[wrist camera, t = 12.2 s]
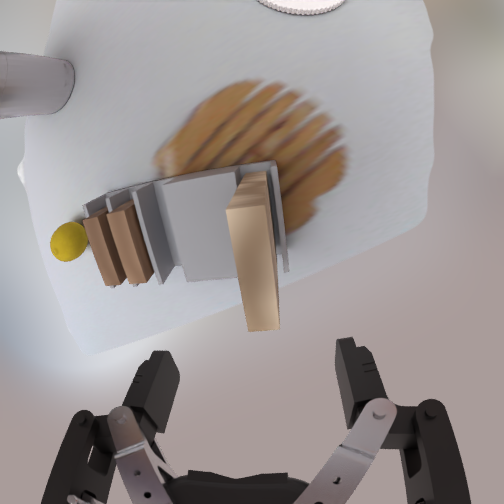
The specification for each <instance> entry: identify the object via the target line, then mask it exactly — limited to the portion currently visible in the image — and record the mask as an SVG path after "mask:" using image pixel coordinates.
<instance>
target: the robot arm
mask: <svg viewBox="0 0 504 504" xmlns="http://www.w3.org/2000/svg"><path fill="white" fill-rule="evenodd" d="M73 85H74V69H73V67H72V65H71V64H70V63H69V62H68V61H66V60H61V59H55V58H50V57H45V56H38V55H31V54H23V53H13V52H2V51H0V119H4V118H11V117H19V116H29V115H43V114H52V113H55V112H57V111H58V110H60V109H61V108H62V107H63V106H64V104H65V103H66V102H67V100H68V98H69V96H70V94H71V92H72V89H73ZM335 370H336V375H337V380H338V384H339V388H340V394H341V399H342V404H343V409H344V414H345V419H346V424H347V429H351V431H350V432H349V434H348V436H347V437H346V438H345V440H344V441H343V443H342V444H341V445H339V446H338V447H337V449H336V450H335V451H334V453H333V454H332V456H331V457H330V458H329V460H328V461H327V463H326V464H325V465H324V466H323V468H322V469H321V470H320V472H319V473H318V474H317V476H316V477H315V478H314V480H313V481H312V482H311V483H310V484H309V483H307V482H305V481H302V480H299V479H295V478H290V477H288V473H272V474H259V475H255V476H250V477H245V478H239V479H233V478H229V477H225V476H222V475H218V474H215V473H212V472H203V471H193V470H188V475H185V476H180V477H178V476H177V474H176V473H175V472H174V471H173V469H172V468H171V467H170V465H169V463H168V461H167V460H166V458H165V456H164V454H163V452H162V450H161V448H160V446H159V444H158V442H157V440H156V438H155V434H156V432H158V433H164V432H165V428H166V425H167V422H168V418H169V415H170V411H171V408H172V405H173V401H174V397H175V395H176V391H177V388H178V384H179V381H180V374H179V371H178V368H177V366H176V364H175V362H174V360H173V358H172V356H171V354H170V352H169V351H153V352H152V354H151V357H150V359H149V360H145V361H144V362H143V363H142V364H141V365H140V366H139V368H138V370H137V372H136V374H135V377H134V379H133V383H132V384H131V386H130V388H129V390H128V392H127V395H126V397H125V399H124V402H123V404H122V406H119V407H116V408H114V409H113V410H112V411H111V412H110V413H109V415H102V416H94V415H93V414H92V413H91V412H90V411H88V410H81V411H79V412H77V413H76V414H75V415H74V416H73V418H72V420H71V423H70V425H69V427H68V430H67V433H66V435H65V437H64V440H63V442H62V444H61V447H60V450H59V452H58V455H57V457H56V460H55V463H54V466H53V468H52V471H51V474H50V477H49V479H48V483H47V485H46V489H45V492H44V495H43V498H42V502H41V504H106V503H107V499H108V495H109V491H110V487H111V483H112V479H113V474H114V471H115V467H116V464H117V467H118V470H119V472H120V475H121V477H122V480H123V482H124V485H125V487H126V489H127V491H128V494H129V496H130V499H131V501H132V503H133V504H345V503H346V502H347V500H348V499H349V498H350V496H351V495H352V493H353V492H354V490H355V489H356V487H357V486H358V484H359V483H360V481H361V480H362V478H363V476H364V475H365V473H366V472H367V470H368V469H369V467H370V465H371V463H372V462H373V460H374V458H375V456H376V454H377V453H378V451H379V449H399V450H400V455H401V461H402V467H403V473H404V480H405V486H406V494H407V502H408V504H471V500H470V495H469V490H468V485H467V480H466V476H465V472H464V468H463V463H462V460H461V456H460V453H459V449H458V445H457V442H456V439H455V436H454V432H453V429H452V426H451V423H450V420H449V417H448V414H447V411H446V409H445V406H444V405H443V404H442V403H441V402H440V401H438V400H435V399H428V400H425V401H423V402H421V403H420V404H419V405H418V406H417V407H415V406H412V407H411V406H409V407H408V406H398V405H396V404H394V403H393V402H392V401H390V400H389V399H388V397H387V395H386V392H385V389H384V386H383V383H382V380H381V378H380V375H379V372H378V370H377V367H376V364H375V361H374V358H373V356H372V353H371V352H370V351H369V350H368V349H367V348H366V347H365V346H361V347H356V345H355V342H354V339H353V338H352V337H349V338H343V339H337V341H336V355H335ZM92 446H93V450H92V453H91V456H90V459H89V462H88V457H89V454H90V451H91V448H92Z"/></svg>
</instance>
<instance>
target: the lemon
mask: <svg viewBox="0 0 504 504" xmlns="http://www.w3.org/2000/svg"><path fill="white" fill-rule="evenodd" d="M87 244H88V237H87V234H86V230H85V228H84V227H83V226H82V225H81V224H79V223H76V222H68V223H65V224H63V225H61V226H60V227H59V228H58V229H57V230H56V231H55V232H54V234H53V235H52V238H51V242H50V247H51V251H52V253H53V255H54V256H55V257H56V258H57V259H58V260H60V261H64V262H67V261H72V260H74V259H76V258H78V257H79V256H80V255H81V254H82V253H83V252H84V251H85V249H86V247H87Z"/></svg>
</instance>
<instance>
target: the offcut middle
mask: <svg viewBox="0 0 504 504" xmlns="http://www.w3.org/2000/svg"><path fill="white" fill-rule="evenodd" d="M106 215H107V218H108V222H109V225H110V228H111V232H112V235H113V238H114V241H115V244H116V247H117V250H118V253H119V256H120V259H121V262H122V265H123V268H124V270H125V273H126V276H127V278H128V281H129V284H137V283H147V282H148V280H149V279H150V277H151V276H152V275H153V273H154V269H153V266H152V263H151V259H150V256H149V253H148V250H147V247H146V243H145V240H144V236H143V233H142V230H141V226H140V222H139V219H138V215H137V211H136V208H135V204H134V200H133V199H131V200H130V201H128V202H126V203H124V204H123V205H121V206H119V207H118V208H116V209H114V210H113V211H111V212H110V213H108V214H106Z"/></svg>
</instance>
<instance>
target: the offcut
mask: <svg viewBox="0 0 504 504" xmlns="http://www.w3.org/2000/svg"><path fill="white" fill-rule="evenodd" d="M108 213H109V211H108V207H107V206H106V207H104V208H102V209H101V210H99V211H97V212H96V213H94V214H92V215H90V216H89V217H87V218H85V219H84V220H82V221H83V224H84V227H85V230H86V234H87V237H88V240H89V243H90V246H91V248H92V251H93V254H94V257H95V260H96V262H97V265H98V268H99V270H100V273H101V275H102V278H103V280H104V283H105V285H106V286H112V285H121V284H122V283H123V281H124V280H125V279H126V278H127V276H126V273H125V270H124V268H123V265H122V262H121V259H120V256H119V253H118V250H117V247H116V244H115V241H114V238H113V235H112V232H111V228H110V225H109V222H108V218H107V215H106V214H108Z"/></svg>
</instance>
